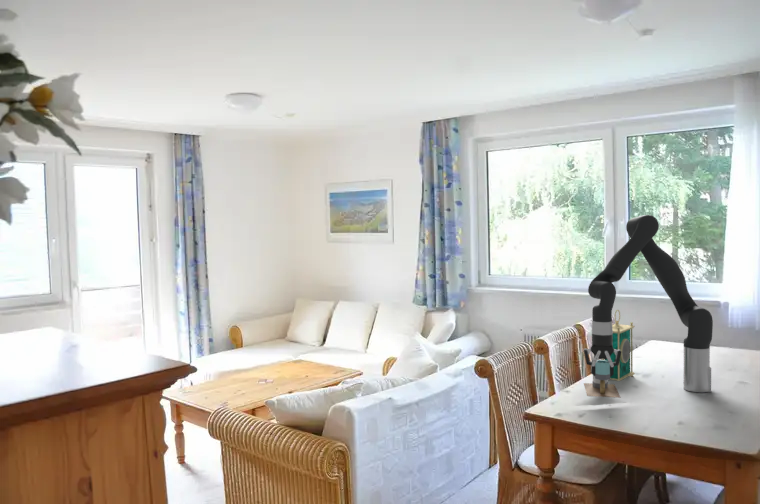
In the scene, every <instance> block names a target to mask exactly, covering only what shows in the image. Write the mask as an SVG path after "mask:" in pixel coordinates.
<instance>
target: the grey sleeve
mask: <svg viewBox="0 0 760 504" xmlns="http://www.w3.org/2000/svg"><path fill="white" fill-rule="evenodd" d="M608 384H609V380H605V389H606V388H607V387H608ZM592 386H593V387H594V388H598V389H600V380H599V379H595V376H593V375H592Z"/></svg>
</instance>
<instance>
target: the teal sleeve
mask: <svg viewBox="0 0 760 504" xmlns="http://www.w3.org/2000/svg"><path fill="white" fill-rule="evenodd" d="M595 379H599V380H608V381H610V380H611V379H610V363H609V362H608V361H606V360H605V359H604V360H602V359H598V360H597V362H596V364H595Z"/></svg>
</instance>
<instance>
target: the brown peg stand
mask: <svg viewBox="0 0 760 504" xmlns="http://www.w3.org/2000/svg"><path fill="white" fill-rule="evenodd" d="M583 385H584V390H585V393H586V396H587V397H601V398H619V399H620V398H621V395H620V393H619V391H618V389H617V386H616V385H615V384H614V383H613V384H611V383H608V387H607V388H606V389H605V380H600V389H598V388H594V387H593V386H592V383H587V382H585V383H583Z"/></svg>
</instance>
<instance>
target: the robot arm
mask: <svg viewBox="0 0 760 504" xmlns="http://www.w3.org/2000/svg"><path fill="white" fill-rule="evenodd" d="M659 228H660V225H659V221H658V219H657V217H655V216H653V215H651V214H644V215H638V216H636V217H632V218H630V219H629V220H628V221H627V222H626V227H625V230H626V233H627V234H628V236H629V240H628V241H627V242H626V243H625V244H624V245H623V246H622V247H621V248H620V249H619V250H617V251H616V253H615V254H614V255H613V256H612V257H611V258H610V260H609V261H608V263H607V264H606V266H605V268H604V269H603V270H601V272H599V274H597V275H596V276H595V277H594V278H593V279H592V280H591V281H590V283H589V285H588V288H587V292H588V294H589V297H591V298H592V299H597V300H599V303H598V305H597V304H596V305H594V306H593V307H592V311H591V312H592V314H591V315H592V319H591V320H592V322H591V346H590V348H586V347H585V348H583V352H584V358H585V362H586V365H588V366H590V367H591V368H590V369H591V375H592V377H593V376H595V364H596V362H597V360H602V358H603V359H604V360H605V359H608V362H609V363H610V377H612V375H613V374H614V366H618V365H619V361H620V356H621V351H620V349H618V350H616V349H614V348H613V328H612V325H613V320H612V319H613V314H612V312H613V308H614V304H615V302H616V301H615V300H616V297H617V290H616V287H615V285H614V283H616V282H619V281H621V279H622V278H623V276H624V275H625V273H626V272H627V270H628V268H629V266H630V265H631V264H632V262H633V261H634V259H636V257H637V256H638V255H639V253H641V254H642V255H643V257H644V260H646V263H648V266H649V267H650V268H651V270H652V271H653V272H652V273H653V274H654V275H655V277H656V279H657V281H658V282H659V284H660V285H661V287H662V288H663V290H664V292H665V293H666V294H667V296H668V297H669V299H670V301H671V302H672V304H673V305H674V308H675V311H676V313H677V315H678V317H679V319H680V321H681V323H682V324H683V325H684V327H687V336H686V337H685V338H683V339H684V340H683V389H684V390H685V391H688V392H692V393H711V392H712V367H711V361H710V360H711V357H710V355H711V354H710V353H711V352H710V351H711V350H710V349H711V343H712V339H713V327H714V325H713V322H714V321H713V317H712V316H713V315H712V313H711V312H710V311H709V310H708V309H706V308H703V307H701V306H699V305H698V304H697V303H696V302H695V300H694V299H693V298H692V296H691V294H690V292H689V290H688V287H687V281H686V278H685V275H684V273H683V271H682V269H681V268H680V265H679V264H678V263H677V261H676V259H674V258H673V257H672V256H671V255H670V254H668V253H667V252H666V251H665V250H664V249H662V248H661V247H659V245H658V244H657V243H656V242H655V240H654V239H653V238H654V237H655V236H656V235H657V232H658V231H659ZM613 352H615V355H616V358H615V362H613V363H612V360H611V358H610V356H611V354H612V353H613ZM591 353H592V354H593V356H592V360H590V357H589V355H590V354H591Z"/></svg>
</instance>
